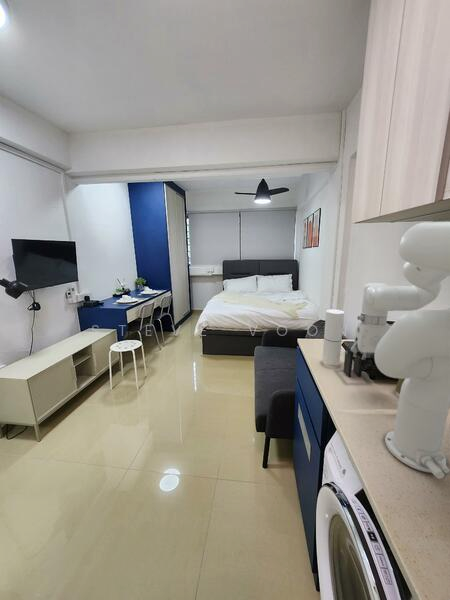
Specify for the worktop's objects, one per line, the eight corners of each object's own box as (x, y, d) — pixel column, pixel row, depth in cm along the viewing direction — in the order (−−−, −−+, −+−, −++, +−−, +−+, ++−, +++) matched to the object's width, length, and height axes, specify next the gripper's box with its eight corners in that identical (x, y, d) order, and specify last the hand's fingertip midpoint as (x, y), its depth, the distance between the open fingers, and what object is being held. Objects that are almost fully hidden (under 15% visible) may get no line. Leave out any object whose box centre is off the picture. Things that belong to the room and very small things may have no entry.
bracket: (369, 384, 93) (373, 353, 91) (346, 384, 94) (349, 354, 91) (356, 370, 103) (359, 343, 100) (335, 371, 104) (337, 343, 101)
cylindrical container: (323, 367, 106) (327, 313, 101) (320, 360, 113) (324, 308, 107) (340, 369, 105) (346, 314, 99) (337, 361, 112) (342, 309, 106)
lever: (375, 367, 84) (375, 358, 84) (366, 367, 85) (366, 358, 84) (356, 355, 97) (356, 347, 97) (348, 355, 98) (348, 347, 97)
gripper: (354, 322, 79) (349, 373, 83) (405, 322, 79) (398, 373, 82) (344, 316, 86) (340, 363, 90) (391, 315, 86) (385, 363, 90)
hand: (368, 367), depth 86 cm, fingers closed on lever, 3 cm apart
